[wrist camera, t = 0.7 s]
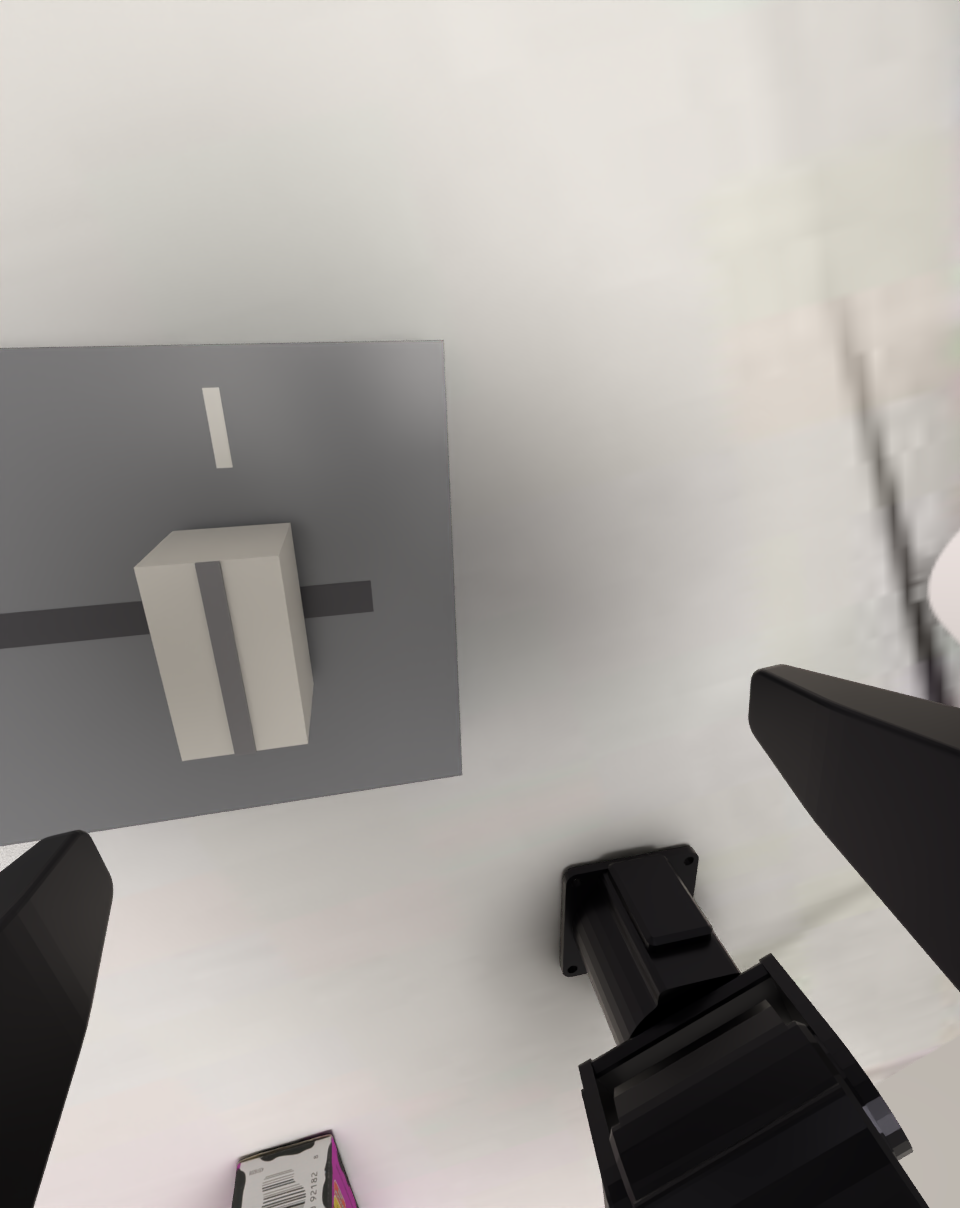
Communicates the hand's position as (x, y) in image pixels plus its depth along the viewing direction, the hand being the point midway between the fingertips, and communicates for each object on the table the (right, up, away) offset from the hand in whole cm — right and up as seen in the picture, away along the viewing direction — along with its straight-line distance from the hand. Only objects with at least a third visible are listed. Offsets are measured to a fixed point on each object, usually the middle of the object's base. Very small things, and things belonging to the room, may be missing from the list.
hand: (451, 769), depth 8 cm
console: (-13, +2, +10) cm, 17 cm away
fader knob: (-6, +2, +9) cm, 11 cm away
